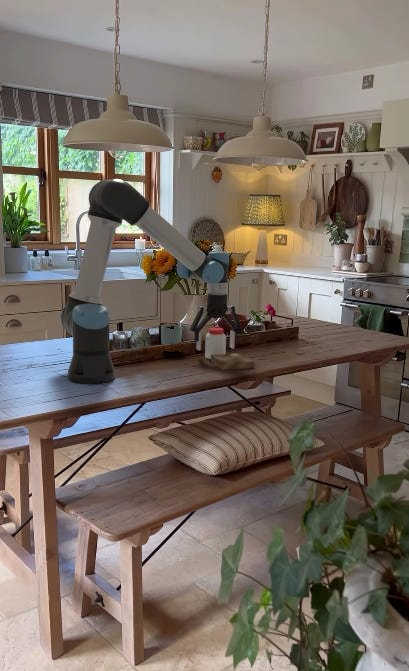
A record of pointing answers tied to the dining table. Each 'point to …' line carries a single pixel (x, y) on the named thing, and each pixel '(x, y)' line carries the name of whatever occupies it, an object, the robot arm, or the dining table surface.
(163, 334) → the pale green box
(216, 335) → the pill bottle
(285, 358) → the dining table surface
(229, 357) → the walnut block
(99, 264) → the robot arm
